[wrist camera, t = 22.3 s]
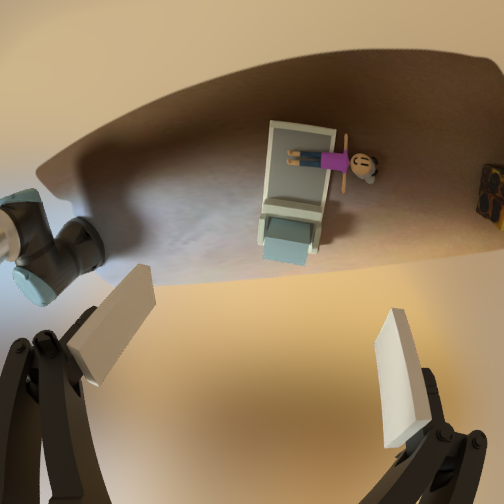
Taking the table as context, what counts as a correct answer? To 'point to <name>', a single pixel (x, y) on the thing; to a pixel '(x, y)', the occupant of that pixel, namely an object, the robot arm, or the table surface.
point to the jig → (295, 178)
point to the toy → (339, 163)
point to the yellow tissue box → (492, 195)
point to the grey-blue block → (287, 241)
